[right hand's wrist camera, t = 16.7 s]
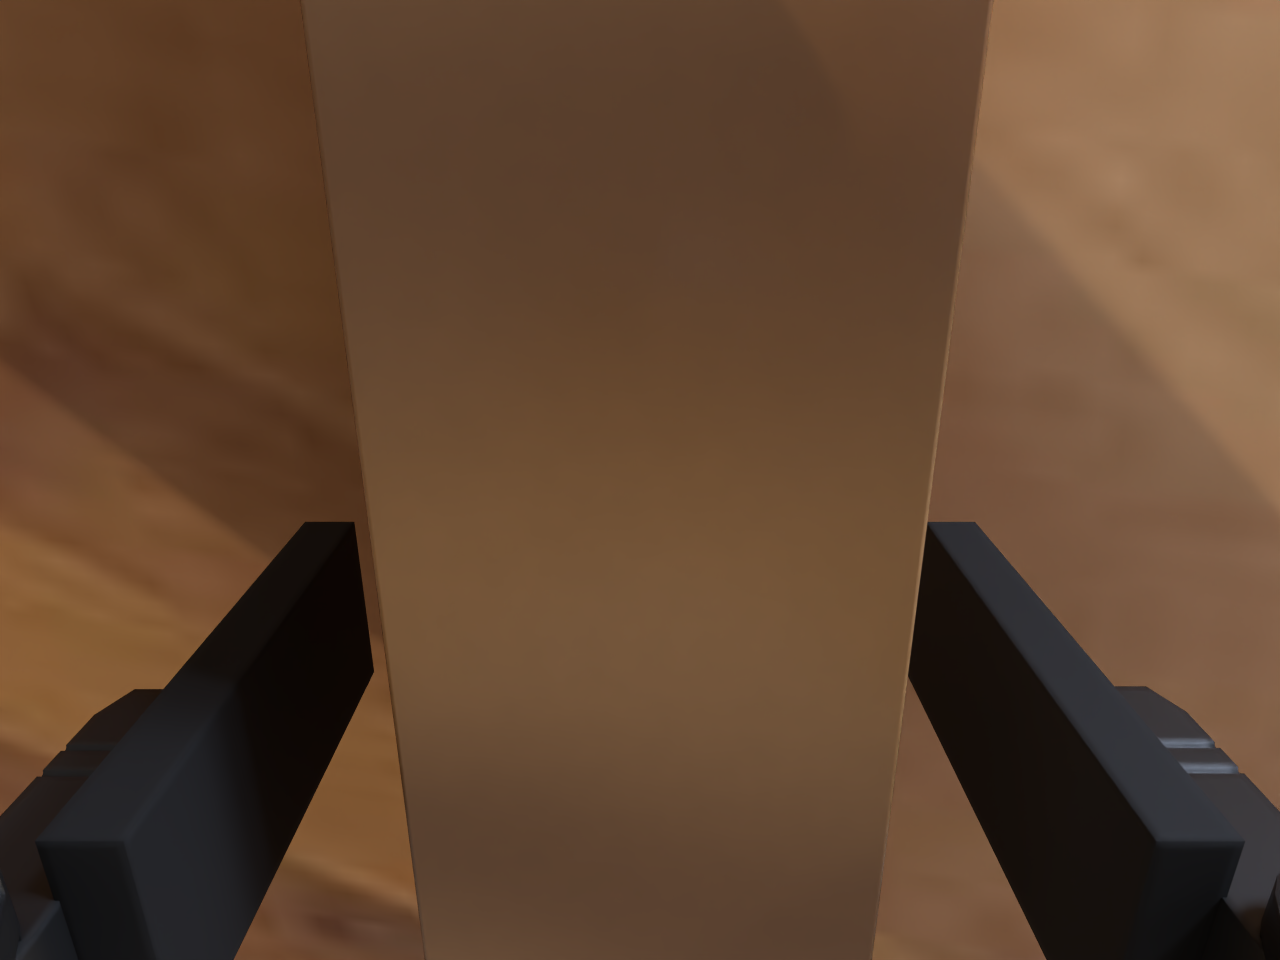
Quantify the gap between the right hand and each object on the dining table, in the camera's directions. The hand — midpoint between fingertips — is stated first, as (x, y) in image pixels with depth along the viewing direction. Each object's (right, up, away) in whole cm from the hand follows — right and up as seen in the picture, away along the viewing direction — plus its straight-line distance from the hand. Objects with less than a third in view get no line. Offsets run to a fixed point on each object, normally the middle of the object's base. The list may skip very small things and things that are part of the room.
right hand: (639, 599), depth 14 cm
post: (0, +21, -5) cm, 21 cm away
